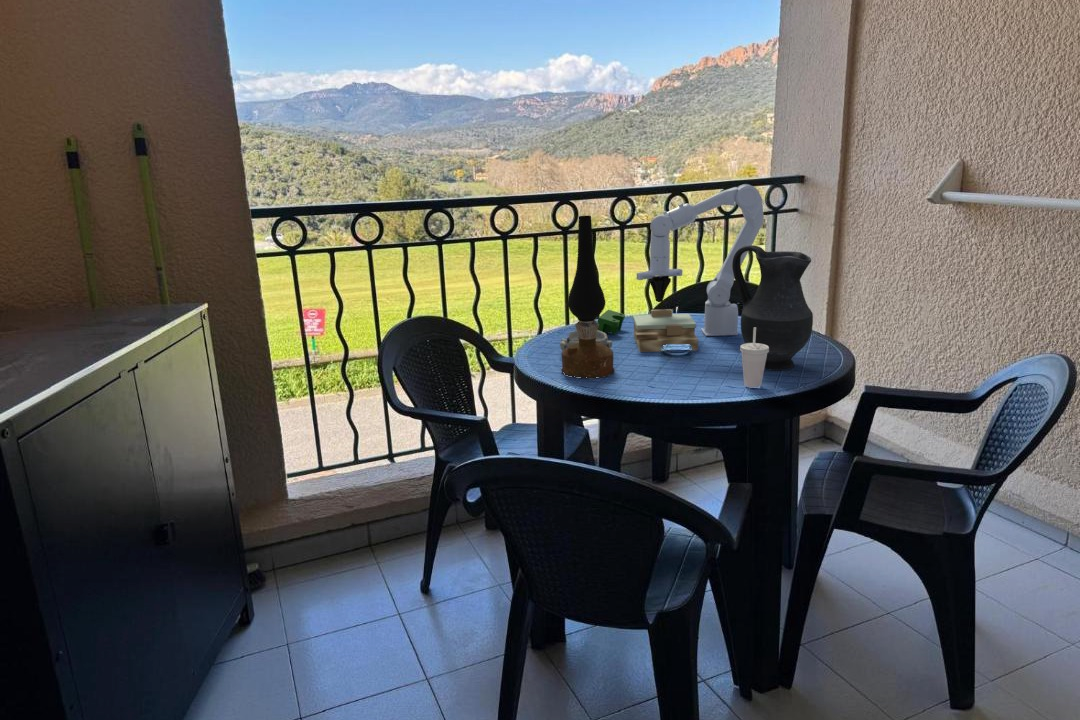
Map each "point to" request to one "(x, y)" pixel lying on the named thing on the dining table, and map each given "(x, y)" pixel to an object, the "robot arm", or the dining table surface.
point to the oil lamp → (586, 314)
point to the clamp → (610, 321)
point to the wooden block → (646, 335)
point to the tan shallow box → (666, 339)
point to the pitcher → (775, 305)
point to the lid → (664, 321)
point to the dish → (574, 335)
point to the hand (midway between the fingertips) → (659, 301)
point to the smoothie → (753, 361)
